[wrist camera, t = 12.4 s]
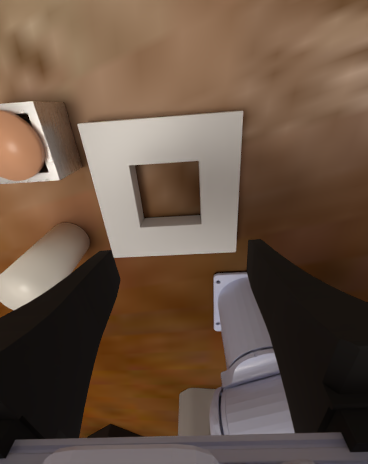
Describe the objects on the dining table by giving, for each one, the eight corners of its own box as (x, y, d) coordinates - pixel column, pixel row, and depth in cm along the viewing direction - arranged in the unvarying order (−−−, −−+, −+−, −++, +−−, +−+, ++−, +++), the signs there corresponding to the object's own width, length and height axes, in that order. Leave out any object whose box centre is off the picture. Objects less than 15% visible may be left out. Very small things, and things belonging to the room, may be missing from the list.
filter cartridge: (93, 254, 25) (55, 313, 18) (57, 255, 25) (5, 313, 18) (84, 222, 23) (38, 274, 16) (46, 222, 23) (-18, 274, 16)
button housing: (82, 167, 20) (59, 180, 16) (28, 170, 20) (-6, 184, 17) (64, 102, 17) (32, 101, 14) (2, 107, 18) (-44, 107, 14)
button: (72, 166, 19) (49, 178, 16) (22, 170, 19) (-11, 182, 16) (54, 107, 17) (23, 107, 14) (-3, 111, 17) (-46, 112, 14)
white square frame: (232, 241, 23) (235, 251, 22) (119, 246, 24) (113, 257, 22) (237, 110, 17) (243, 110, 16) (88, 122, 18) (77, 124, 16)
